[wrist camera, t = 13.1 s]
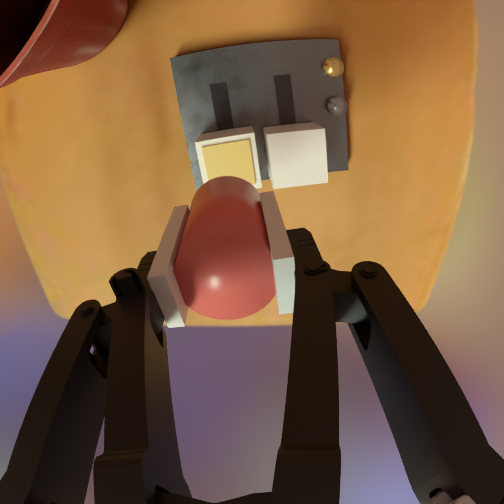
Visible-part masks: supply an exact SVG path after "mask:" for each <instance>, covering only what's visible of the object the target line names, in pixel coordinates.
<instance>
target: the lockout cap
mask: <svg viewBox="0 0 504 504" xmlns="http://www.w3.org/2000/svg"><path fill="white" fill-rule="evenodd" d="M173 272H174V275H175V277H176V280H177V283H178V286H179V289H180V292H181V294H182V297H183V300H184V303H185V304H186V305H187V306H188V307H189V308H191V309H192V310H194V311H195V312H197V313H199V314H201V315H204V316H206V317H210V318H214V319H222V320H232V319H239V318H244V317H247V316H250V315H252V314H254V313H256V312H258V311H260V310H261V309H263V308H264V307H265V306H266V305H267V304H268V303H269V302H270V301H271V300H272V299H273V297H274V296H275V294H276V289H275V280H274V272H273V264H272V256H271V250H270V245H269V240H268V235H267V230H266V225H265V220H264V215H263V211H262V206H261V200H260V194H259V192H258V191H257V189H256V188H255V187H254V186H253V185H252V184H251V183H249V182H248V181H246V180H244V179H241V178H239V177H235V176H220V177H216V178H213V179H211V180H209V181H207V182H206V183H204V184H203V185H202V186H201V187H200V188H199V189H198V190H197V192H196V193H195V195H194V197H193V200H192V203H191V207H190V210H189V214H188V217H187V221H186V224H185V228H184V231H183V235H182V239H181V242H180V246H179V250H178V254H177V257H176V261H175V265H174V270H173Z"/></svg>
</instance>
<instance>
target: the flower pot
mask: <svg viewBox="0 0 504 504" xmlns="http://www.w3.org/2000/svg"><path fill="white" fill-rule="evenodd" d="M50 2H51V3H50ZM49 4H50V5H49ZM48 5H49V7H48ZM47 7H48V9H47ZM46 9H47V11H46ZM127 9H128V4H127V0H0V88H2V87H4V86H7V85H9V84H11V83H13V82H15V81H16V80H18V79H20V78H22V77H26V76H29V75H33V74H37V73H41V72H45V71H50V70H54V69H59V68H64V67H70V66H74V65H77V64H80V63H82V62H85V61H87V60H89V59H91V58H93V57H94V56H96V55H97V54H98V53H100V52H101V51H102V50H103V49H104V48H105V47H106V46H107V45H108V44H109V43H110V42H111V41H112V39H113V38H114V37H115V35H116V34H117V32H118V31H119V29H120V28H121V26H122V24H123V22H124V19H125V16H126V13H127ZM45 11H46V12H45Z"/></svg>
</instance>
